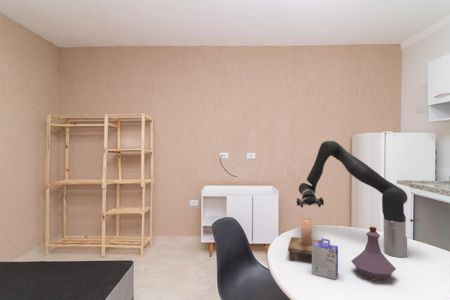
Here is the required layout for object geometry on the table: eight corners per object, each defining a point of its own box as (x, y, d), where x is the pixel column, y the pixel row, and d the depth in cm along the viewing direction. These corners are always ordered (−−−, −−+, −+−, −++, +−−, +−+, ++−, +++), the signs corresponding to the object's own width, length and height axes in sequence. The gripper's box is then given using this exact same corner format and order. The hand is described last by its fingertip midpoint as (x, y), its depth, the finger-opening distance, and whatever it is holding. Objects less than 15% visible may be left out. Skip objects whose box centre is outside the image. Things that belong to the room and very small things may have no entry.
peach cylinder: (311, 242, 126) (311, 219, 126) (311, 246, 121) (311, 221, 121) (301, 241, 127) (301, 218, 127) (300, 245, 123) (301, 220, 123)
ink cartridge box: (338, 274, 106) (338, 240, 106) (336, 280, 101) (336, 244, 101) (314, 268, 111) (314, 236, 111) (311, 273, 107) (311, 240, 107)
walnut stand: (323, 252, 129) (323, 240, 129) (324, 265, 114) (324, 252, 114) (291, 248, 134) (291, 236, 134) (288, 260, 119) (288, 248, 119)
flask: (371, 263, 116) (371, 220, 116) (406, 281, 100) (406, 231, 100) (342, 268, 111) (342, 223, 111) (375, 288, 95) (375, 236, 95)
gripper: (295, 191, 151) (296, 199, 135) (320, 190, 147) (324, 198, 132) (296, 203, 152) (297, 212, 136) (321, 202, 148) (325, 212, 132)
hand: (310, 205), depth 134 cm, fingers open, 8 cm apart
